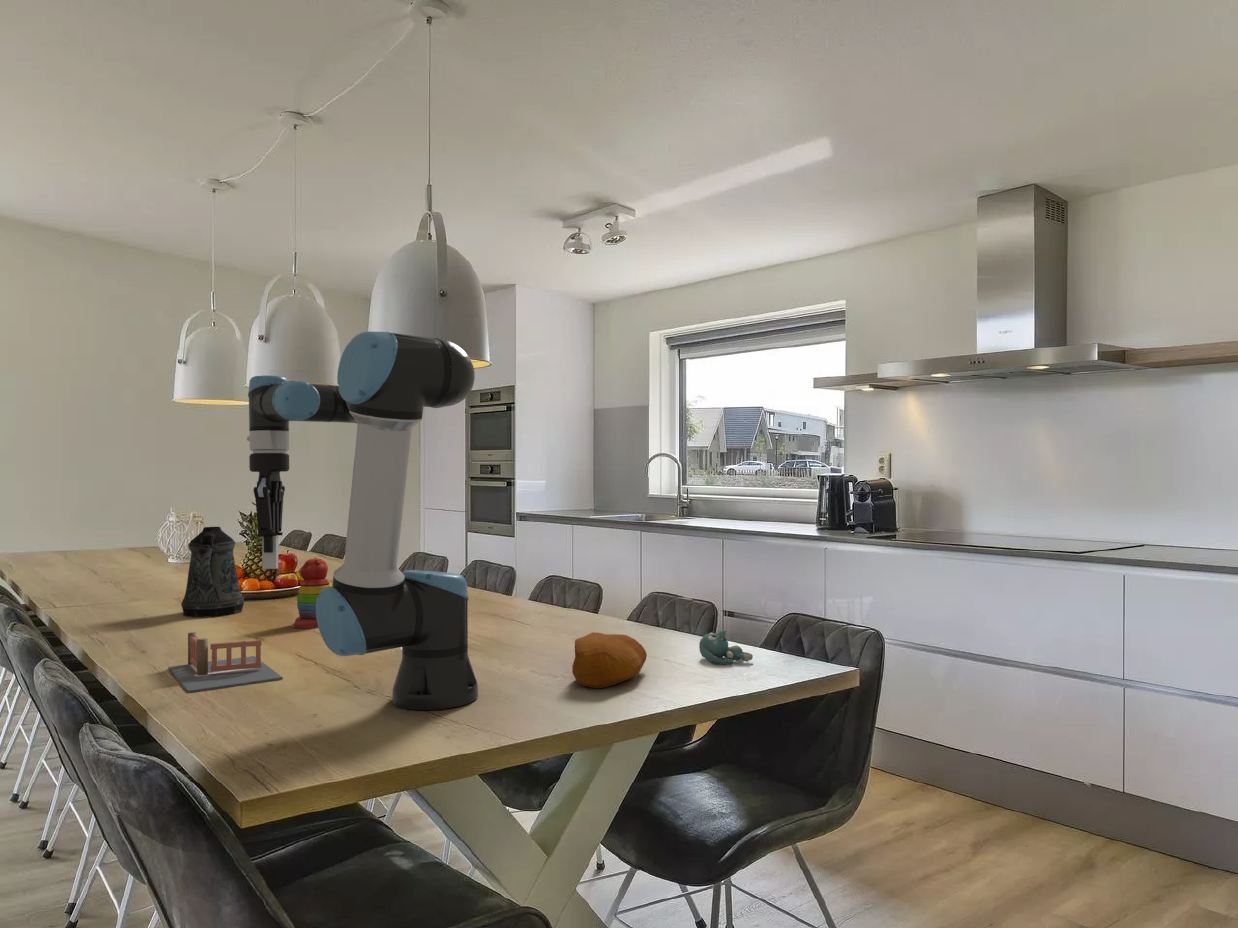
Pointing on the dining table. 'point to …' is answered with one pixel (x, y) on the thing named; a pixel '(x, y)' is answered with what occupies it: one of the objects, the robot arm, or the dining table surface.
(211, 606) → the beer stein
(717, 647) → the stuffed animal
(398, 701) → the robot arm
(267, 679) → the mat
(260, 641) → the hinged panel
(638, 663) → the bread
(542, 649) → the dining table surface
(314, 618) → the stacking bear
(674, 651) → the dining table surface
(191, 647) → the fixed panel
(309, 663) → the dining table surface
